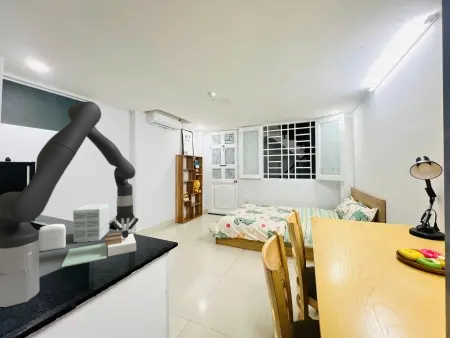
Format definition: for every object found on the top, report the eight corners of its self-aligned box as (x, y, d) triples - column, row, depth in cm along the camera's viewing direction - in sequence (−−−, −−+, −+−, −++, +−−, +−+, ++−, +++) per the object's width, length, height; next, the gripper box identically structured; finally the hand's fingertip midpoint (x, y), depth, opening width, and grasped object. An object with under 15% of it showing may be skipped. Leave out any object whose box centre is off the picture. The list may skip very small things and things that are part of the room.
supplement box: (86, 232, 124) (85, 204, 124) (109, 231, 127) (109, 203, 127) (72, 243, 107) (72, 209, 107) (99, 240, 111) (99, 208, 111)
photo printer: (66, 245, 105) (66, 221, 104) (65, 248, 101) (65, 223, 101) (40, 249, 99) (39, 225, 99) (38, 252, 95) (37, 227, 95)
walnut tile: (121, 242, 97) (121, 237, 97) (105, 245, 94) (105, 240, 94) (121, 237, 105) (121, 232, 105) (105, 239, 102) (105, 234, 102)
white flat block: (136, 250, 97) (136, 242, 97) (107, 256, 91) (107, 247, 91) (132, 240, 111) (132, 233, 111) (108, 244, 105) (108, 237, 105)
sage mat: (106, 258, 89) (106, 257, 89) (61, 267, 81) (61, 266, 81) (107, 243, 107) (107, 242, 107) (69, 249, 98) (69, 249, 98)
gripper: (110, 206, 95) (110, 242, 95) (139, 204, 102) (140, 237, 102) (110, 204, 102) (110, 237, 102) (138, 201, 108) (138, 233, 108)
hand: (125, 237), depth 102 cm, fingers closed
